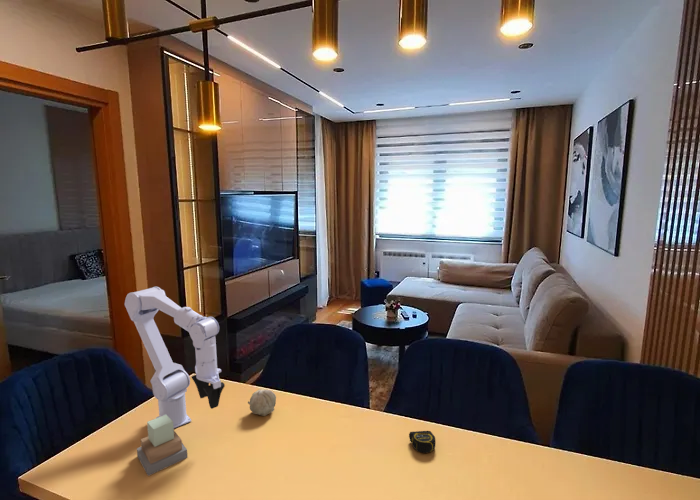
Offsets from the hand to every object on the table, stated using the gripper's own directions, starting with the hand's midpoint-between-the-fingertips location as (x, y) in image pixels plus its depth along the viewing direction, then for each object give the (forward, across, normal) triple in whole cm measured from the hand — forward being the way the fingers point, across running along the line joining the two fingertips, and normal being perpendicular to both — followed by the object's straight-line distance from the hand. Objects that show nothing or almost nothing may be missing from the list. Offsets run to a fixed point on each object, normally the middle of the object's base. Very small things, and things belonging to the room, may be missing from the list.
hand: (209, 401), depth 112 cm
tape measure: (+11, -47, -43) cm, 64 cm away
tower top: (+8, -1, +14) cm, 16 cm away
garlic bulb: (+11, -1, -17) cm, 20 cm away
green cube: (+5, -1, +14) cm, 15 cm away
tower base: (+11, -1, +14) cm, 18 cm away
